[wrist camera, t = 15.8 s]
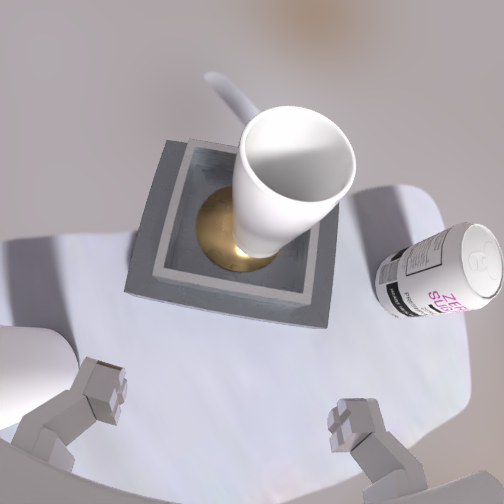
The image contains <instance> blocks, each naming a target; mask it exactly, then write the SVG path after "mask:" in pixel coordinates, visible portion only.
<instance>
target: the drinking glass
mask: <svg viewBox="0 0 504 504" xmlns="http://www.w3.org/2000/svg"><path fill="white" fill-rule="evenodd" d="M355 173H356V159H355V154H354V151H353V148H352V146H351V144H350V142H349V140H348V138H347V137H346V135H345V134H344V133H343V132H342V130H341V129H340V128H339V127H338V126H337V125H335V123H333V122H332V121H331V120H330V119H328V118H326V117H325V116H323V115H321V114H319V113H317V112H315V111H312V110H310V109H307V108H303V107H298V106H277V107H273V108H269V109H267V110H264V111H262V112H260V113H259V114H257V115H256V116H254V117H253V118H252V119H251V120H250V121H249V122H248V124H247V125H246V126H245V128H244V130H243V132H242V135H241V138H240V142H239V146H238V149H237V153H236V158H235V163H234V169H233V180H232V201H233V223H232V237H233V240H234V242H235V244H236V246H237V247H238V248H239V249H240V250H241V251H242V252H243V253H244V254H246V255H248V256H250V257H254V258H267V257H270V256H272V255H274V254H276V253H277V252H278V251H280V250H281V248H282V247H284V246H285V245H287V244H288V243H289V242H291V241H292V240H294V239H295V238H297V237H298V236H300V235H301V234H303V233H304V232H306V231H307V230H309V229H310V228H312V227H313V226H314V225H316V224H317V223H318V222H319V221H321V220H322V219H323V218H324V217H325V216H326V215H327V214H328V213H329V212H330V211H331V210H332V209H333V208H334V207H335V206H336V205H337V203H338V202H339V201H340V200H341V199H342V197H343V196H344V195H345V194H346V193H347V191H348V190H349V189H350V187H351V185H352V183H353V181H354V178H355Z"/></svg>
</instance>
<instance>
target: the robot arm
mask: <svg viewBox="0 0 504 504" xmlns="http://www.w3.org/2000/svg"><path fill="white" fill-rule="evenodd" d="M125 374H126V373H125V368H123V367H119V366H115V365H112V364H109V363H105V362H102V361H99V360H96V359H92V358H89V357H86V358H85V359H84V360H83V362H82V365H81V367H80V369H79V371H78V373H77V375H76V377H75V379H74V382H73V384H72V386H71V388H70V390H67V389H66V390H64V391H63V392H61V393H59V394H58V395H56V396H55V397H53V398H51V399H50V400H48V401H47V402H45V403H43V404H42V405H40V406H38V407H37V408H35V409H34V410H32V411H30V412H29V413H27V414H26V415H24V416H23V417H22V419H21V421H20V423H19V426H18V428H17V430H16V433H15V435H14V437H13V440H12V442H11V444H10V443H8V442H7V441H5V440H3V439H1V438H0V504H180V503H175V502H169V501H164V500H160V499H155V498H150V497H146V496H142V495H138V494H134V493H130V492H127V491H123V490H120V489H116V488H113V487H110V486H107V485H104V484H100V483H98V482H95V481H92V480H89V479H86V478H83V477H81V476H78V475H76V474H73V473H71V472H72V468H73V465H74V461H75V458H74V456H73V455H72V454H71V452H70V451H69V450H68V449H67V447H66V446H67V445H68V444H70V443H71V442H72V441H73V440H75V439H76V438H77V437H78V436H79V435H80V434H82V433H83V432H84V431H85V430H86V429H88V428H89V427H90V426H91V425H92V424H94V423H95V422H96V420H98V421H101V422H105V423H108V424H112V425H116V426H117V423H118V420H119V417H120V414H121V409H120V405H121V404H122V403H124V401H125V398H126V393H127V380H126V379H125V378H124V376H125ZM327 425H328V430H329V431H330V432H331V433H332V436H331V437H330V445H331V451H332V452H350V454H351V455H352V457H353V458H354V459H355V461H356V462H357V463H358V465H359V466H360V467H361V469H362V470H363V471H364V472H365V474H366V475H367V476H368V478H369V479H370V480H371V482H372V483H373V484H372V485H370V486H368V487H367V488H365V489H364V490H363V498H364V504H504V488H503V485H502V484H501V483H500V482H499V481H498V480H497V479H496V478H495V477H494V476H493V475H492V474H490V473H489V472H488V471H486V470H480V471H478V472H475V473H472V474H470V475H467V476H465V477H463V478H460V479H457V480H454V481H451V482H448V483H446V484H443V485H440V486H436V487H433V488H430V489H428V486H427V482H426V478H425V474H424V470H423V467H422V464H421V463H420V462H419V461H418V460H417V459H416V458H415V457H414V456H413V455H412V454H411V453H410V452H409V451H408V450H407V449H406V448H405V447H404V446H403V445H402V444H401V443H400V442H399V441H398V440H397V439H396V438H395V437H394V436H393V435H392V434H391V433H390V432H389V431H388V432H386V429H385V426H384V422H383V419H382V415H381V412H380V408H379V405H378V402H377V400H376V399H374V398H369V399H363V398H349V399H340V400H339V401H338V402H337V407H335V408H333V409H332V410H331V411H330V413H329V416H328V421H327Z"/></svg>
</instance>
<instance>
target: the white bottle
mask: <svg viewBox="0 0 504 504" xmlns="http://www.w3.org/2000/svg"><path fill="white" fill-rule="evenodd" d="M78 371H79V369H78V362H77V359H76V356H75V354H74V351H73V349H72V348H71V346H70V345H69V343H68V342H67V341H66V340H65V338H64V337H63V336H61V335H60V334H59V333H57V332H55V331H53V330H51V329H47V328H33V327H16V326H2V325H0V430H1V429H3V428H5V427H8V426H10V425H12V424H15V423H17V422H19V421H21V419H22V417H23V416H24V415H26V414H27V413H29V412H30V411H32V410H34V409H35V408H37V407H38V406H40V405H42V404H43V403H45V402H47V401H48V400H50V399H51V398H53V397H55V396H56V395H58V394H59V393H61V392H63V391H64V390H66V389H67V390H70V388H71V386H72V384H73V382H74V379H75V377H76V375H77V373H78Z"/></svg>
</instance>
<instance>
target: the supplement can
mask: <svg viewBox="0 0 504 504" xmlns="http://www.w3.org/2000/svg"><path fill="white" fill-rule="evenodd" d="M503 279H504V261H503V255H502V251H501V249H500V246H499V243H498V241H497V239H496V238H495V237H494V235H493V233H492V232H491V231H490V230H489V229H488V228H486V227H485V226H484V225H480V224H471V223H467V222H464V223H460V224H457V225H455V226H453V227H451V228H448V229H446V230H444V231H442V232H440V233H438V234H436V235H434V236H432V237H430V238H427V239H425V240H423V241H421V242H419V243H417V244H414V245H412V246H410V247H408V248H406V249H403V250H401V251H399V252H397V253H395V254H392V255H390V256H388V257H387V258H386V259H385V260H384V261H383V262H382V263H381V265H380V267H379V269H378V271H377V274H376V281H375V286H376V294H377V297H378V299H379V302H380V304H381V306H382V307H383V308H384V309H385V310H386V311H387V313H388V314H390V315H392V316H394V317H396V318H412V317H421V316H430V315H438V314H446V313H453V312H461V311H467V310H474V309H480V308H482V307H483V306H485V305H486V304H488V303H489V302H490V300H491V299H493V298H494V297H496V296H497V294H498V293H499V291H500V289H501V287H502V284H503Z"/></svg>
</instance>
